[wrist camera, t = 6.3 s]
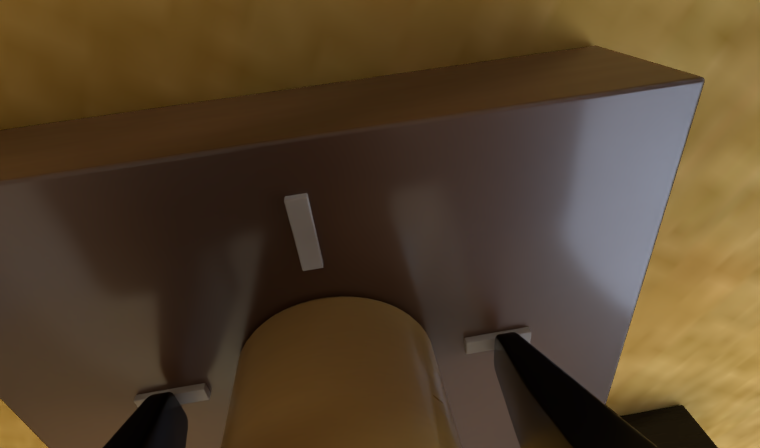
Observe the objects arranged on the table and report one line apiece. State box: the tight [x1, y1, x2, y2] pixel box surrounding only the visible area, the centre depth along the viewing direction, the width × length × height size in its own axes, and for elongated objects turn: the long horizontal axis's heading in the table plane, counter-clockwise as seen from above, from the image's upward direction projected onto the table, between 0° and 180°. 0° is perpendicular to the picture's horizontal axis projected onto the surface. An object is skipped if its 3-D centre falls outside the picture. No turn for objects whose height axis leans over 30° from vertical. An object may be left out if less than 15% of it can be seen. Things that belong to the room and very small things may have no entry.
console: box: [0, 46, 704, 448], centre depth 10 cm, size 13×10×3 cm
